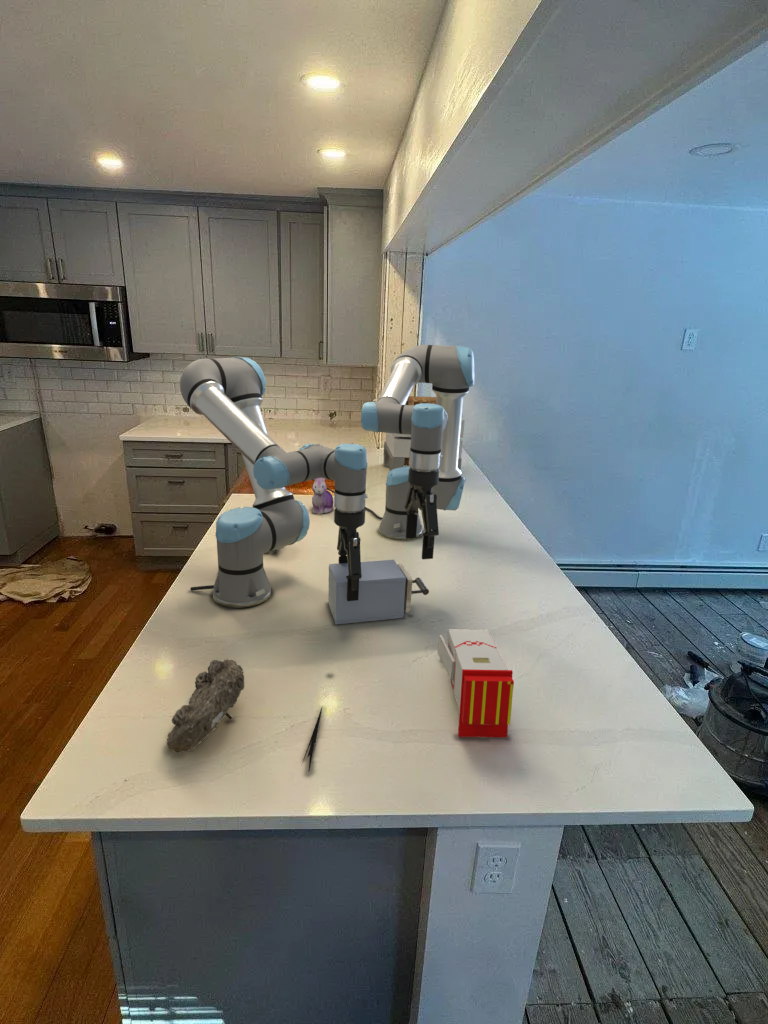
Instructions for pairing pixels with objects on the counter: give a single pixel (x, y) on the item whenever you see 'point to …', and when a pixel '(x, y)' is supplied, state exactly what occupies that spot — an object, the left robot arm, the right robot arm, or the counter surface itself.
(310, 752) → the feather
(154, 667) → the counter surface
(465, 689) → the toy
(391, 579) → the cabinet
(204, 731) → the fossil
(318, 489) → the figurine
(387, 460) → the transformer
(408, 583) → the drawer
